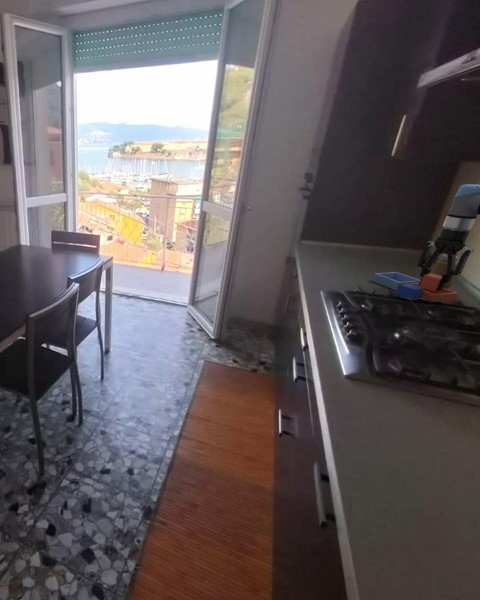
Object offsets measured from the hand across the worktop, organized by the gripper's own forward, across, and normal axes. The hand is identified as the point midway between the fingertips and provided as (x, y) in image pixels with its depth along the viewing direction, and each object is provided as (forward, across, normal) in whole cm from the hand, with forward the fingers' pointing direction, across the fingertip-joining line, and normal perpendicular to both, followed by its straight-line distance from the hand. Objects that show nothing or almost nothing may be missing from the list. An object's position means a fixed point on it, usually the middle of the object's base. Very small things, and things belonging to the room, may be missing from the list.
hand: (430, 287), depth 139 cm
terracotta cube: (0, 0, 0) cm, 0 cm away
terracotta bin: (+4, 0, 0) cm, 4 cm away
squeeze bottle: (+4, +2, -13) cm, 14 cm away
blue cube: (+4, +2, +9) cm, 10 cm away
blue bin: (+4, +12, -3) cm, 14 cm away
